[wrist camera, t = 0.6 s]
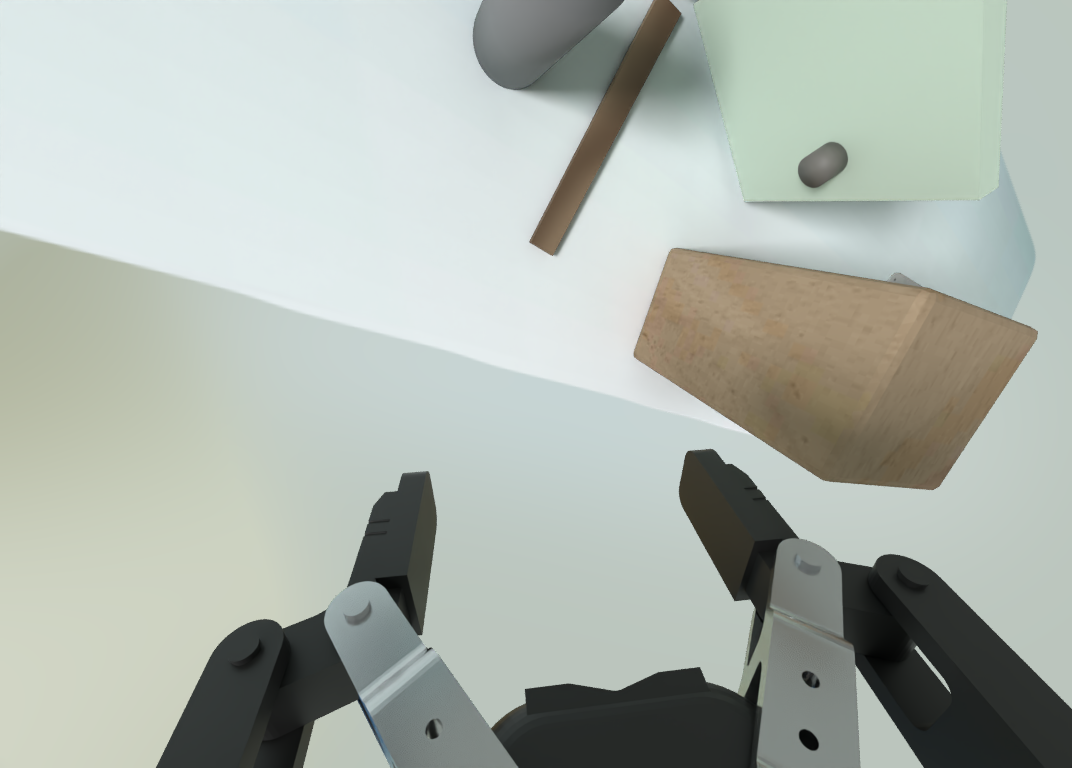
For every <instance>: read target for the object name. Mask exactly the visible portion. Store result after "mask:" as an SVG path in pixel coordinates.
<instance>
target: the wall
mask: <svg viewBox="0 0 1072 768" xmlns="http://www.w3.org/2000/svg"><path fill="white" fill-rule="evenodd" d="M680 15H681V12H680V11H679V10H678V9H677V8H676V7H675V6H674V5H673V4H672V3H671V2H670V1H669V0H654V1H653V2H652V4H651V6H650V8H649V10H648V12H647V14H646V16H645V18H644V20H643V22H642V24H641V26H640V28H639V30H638V32H637V34H636V35H635V37H634V39H633V41H632V43H631V45H630V47H629V49H628V51H627V53H626V55H625V57H624V59H623V61H622V63H621V65H620V67H619V69H618V70H617V72H616V74H615V76H614V78H613V80H612V82H611V84H610V86H609V88H608V90H607V92H606V94H605V96H604V98H603V100H602V102H601V103H600V105H599V107H598V109H597V111H596V113H595V115H594V117H593V119H592V121H591V123H590V125H589V127H588V129H587V131H586V133H585V135H584V137H583V138H582V140H581V142H580V144H579V146H578V148H577V150H576V152H575V154H574V156H573V158H572V160H571V162H570V164H569V166H568V168H567V170H566V171H565V173H564V175H563V177H562V179H561V181H560V183H559V185H558V187H557V189H556V191H555V193H554V195H553V197H552V199H551V201H550V203H549V205H548V206H547V208H546V210H545V212H544V214H543V216H542V218H541V220H540V222H539V224H538V226H537V228H536V230H535V232H534V234H533V236H532V238H531V239H530V241H529V242H530V243H532V244H533V245H535V246H537V247H538V248H540V249H541V250H543V251H545V252H546V253H548V254H550V255H552V256H553V254H554V252H555V250H556V248H557V247H558V245H559V243H560V241H561V239H562V237H563V235H564V233H565V231H566V230H567V228H568V226H569V224H570V222H571V220H572V218H573V216H574V215H575V213H576V211H577V209H578V207H579V205H580V203H581V201H582V199H583V198H584V196H585V194H586V192H587V190H588V188H589V186H590V184H591V183H592V181H593V179H594V177H595V175H596V173H597V171H598V169H599V168H600V166H601V164H602V162H603V160H604V158H605V156H606V154H607V152H608V151H609V149H610V147H611V145H612V143H613V141H614V139H615V137H616V136H617V134H618V132H619V130H620V128H621V126H622V124H623V122H624V120H625V119H626V117H627V115H628V113H629V111H630V109H631V107H632V105H633V104H634V102H635V100H636V98H637V96H638V94H639V92H640V90H641V88H642V87H643V85H644V83H645V81H646V79H647V77H648V75H649V73H650V72H651V70H652V68H653V66H654V64H655V62H656V60H657V58H658V56H659V55H660V53H661V51H662V49H663V47H664V45H665V43H666V41H667V40H668V38H669V36H670V34H671V32H672V30H673V28H674V26H675V24H676V23H677V21H678V19H679V17H680Z"/></svg>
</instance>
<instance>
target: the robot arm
mask: <svg viewBox="0 0 1072 768" xmlns="http://www.w3.org/2000/svg"><path fill="white" fill-rule="evenodd" d="M679 497H680V501H681V505H682V507H683V509H684V511H685V512H686V514H687V516H688V518H689V520H690V521H691V523H692V525H693V527H694V529H695V530H696V532H697V534H698V536H699V538H700V539H701V541H702V543H703V545H704V547H705V549H706V550H707V552H708V554H709V556H710V557H711V559H712V561H713V563H714V565H715V567H716V568H717V570H718V572H719V573H720V576H721V577H722V579H723V581H724V583H725V584H726V586H727V588H728V590H729V592H730V594H731V595H732V597H733V599H734V601H741V600H749V599H750V600H751V601H752V603H753V605H754V607H755V609H754V611H753V615H752V621H751V627H750V633H749V639H748V645H747V651H746V657H745V663H744V669H743V675H742V679H741V683H740V687H739V690H738V694H737V693H735V692H733V691H731V690H729V689H726V688H724V687H722V686H719V685H715V684H712V683H708V682H706V681H705V678H704V676H703V673H702V671H701V669H700V667H697V668H689V669H681V670H674V671H665V672H658V673H656V674H654V675H652V676H649V677H647V678H645V679H643V680H641V681H639V682H636V683H634V684H632V685H630V686H628V687H626V688H624V689H622V690H618V691H611V690H605V689H599V688H593V687H587V686H581V685H575V684H561V685H553V686H545V687H538V688H530V689H525V696H526V704H523V705H521V706H519V707H518V708H515V709H514V710H512V711H511V712H509V713H508V714H506V715H505V716H504V717H503V718H501V719H500V720H499V721H498V722H497V723H496V724H495V725H494V726H493V727H492V728H490V727H489V725H488V724H487V723H486V721H485V720H484V718H483V717H482V715H481V714H480V713H479V711H478V710H477V708H476V707H475V706H474V704H473V703H472V701H471V700H470V698H469V697H468V696H467V694H466V693H465V692H464V690H463V689H462V687H461V686H460V684H459V683H458V681H457V680H456V679H455V678H454V676H453V674H452V673H451V672H450V670H449V669H448V667H447V666H446V664H445V663H444V662H443V660H442V659H441V657H440V656H439V655H438V654H437V653H436V651H435V650H434V649H433V648H429V649H428V648H427V647H426V646H425V645H424V644H423V643H422V641H421V639H420V638H419V637H418V635H422V632H423V625H424V618H425V610H426V603H427V595H428V588H429V580H430V573H431V565H432V558H433V550H434V543H435V535H436V526H437V515H436V506H435V501H434V495H433V489H432V484H431V479H430V474H429V472H428V471H426V472H414V473H403V474H402V477H401V480H400V484H399V488H398V491H395V492H385V493H384V494H383V495H382V496H381V498H380V499H379V500H378V501H377V502H376V503H375V505H374V506H373V509H372V512H371V515H370V518H369V524H368V525H367V528H366V531H365V536H364V537H363V540H362V543H361V546H360V549H359V552H358V556H357V559H356V562H355V565H354V568H353V571H352V574H351V577H350V581H349V584H348V586H347V588H346V589H344V590H343V591H341V592H340V593H339V594H338V595H337V596H336V597H335V598H334V599H333V600H332V601H331V603H330V605H329V606H328V608H327V609H326V610H325V611H323V612H322V613H320V614H318V615H316V616H314V617H311V618H309V619H306V620H304V621H301V622H299V623H296V624H293V625H291V626H288V627H286V628H283V629H282V627H281V626H280V625H279V624H278V623H277V622H275V621H273V620H267V619H263V620H256V621H253V622H250V623H247V624H245V625H243V626H241V627H239V628H238V629H236V630H235V631H234V632H232V633H231V634H229V635H228V636H227V637H226V638H225V639H224V640H223V641H222V642H221V643H220V644H219V645H218V646H217V648H216V649H215V650H214V652H213V653H212V655H211V657H210V659H209V661H208V663H207V665H206V667H205V669H204V671H203V673H202V675H201V677H200V679H199V681H198V683H197V685H196V687H195V689H194V691H193V693H192V696H191V697H190V700H189V701H188V704H187V706H186V708H185V710H184V712H183V714H182V716H181V718H180V720H179V722H178V724H177V726H176V728H175V730H174V732H173V734H172V736H171V738H170V740H169V742H168V744H167V747H166V748H165V750H164V752H163V755H162V757H161V759H160V761H159V763H158V765H157V767H156V768H303V765H304V761H305V757H306V753H307V749H308V745H309V741H310V737H311V733H312V729H313V725H314V721H315V720H316V719H318V718H320V717H322V716H325V715H327V714H329V713H331V712H333V711H335V710H337V709H339V708H341V707H343V706H345V705H347V704H350V703H351V702H354V701H356V700H357V701H358V703H359V705H360V707H361V709H362V711H363V713H364V715H365V717H366V719H367V721H368V723H369V725H370V727H371V729H372V731H373V733H374V735H375V737H376V739H377V741H378V743H379V745H380V747H381V749H382V751H383V753H384V755H385V757H386V759H387V761H388V763H389V765H390V768H860V751H859V730H858V711H857V691H856V673H855V672H856V671H855V665H856V666H857V668H858V669H859V671H860V672H861V674H862V675H863V677H864V678H865V680H866V681H867V683H868V684H869V686H870V687H871V689H872V690H873V692H874V693H875V695H876V696H877V698H878V699H879V701H880V702H881V704H882V705H883V707H884V708H885V710H886V711H887V713H888V714H889V716H890V717H891V719H892V720H893V722H894V723H895V725H896V726H897V728H898V729H899V731H900V732H901V734H902V735H903V737H904V738H905V739H906V741H907V743H908V744H909V746H910V747H911V749H912V750H913V752H914V753H915V755H916V756H917V758H918V759H919V761H920V762H921V764H922V765H923V767H924V768H1072V709H1071V708H1070V707H1069V706H1068V705H1067V704H1066V703H1065V702H1064V701H1063V700H1062V699H1061V698H1060V697H1059V696H1058V695H1057V694H1056V693H1055V692H1054V691H1053V690H1052V689H1051V688H1050V687H1049V686H1048V685H1047V684H1046V683H1045V682H1044V681H1043V680H1042V679H1041V678H1040V677H1039V676H1038V675H1037V674H1036V673H1035V672H1034V671H1033V670H1032V669H1031V668H1030V667H1029V666H1028V665H1027V664H1026V663H1025V662H1024V661H1023V660H1022V659H1021V658H1020V657H1019V656H1018V655H1017V654H1016V653H1015V652H1014V651H1013V650H1012V649H1011V648H1010V647H1009V646H1008V645H1007V644H1006V643H1005V642H1004V641H1003V640H1002V639H1001V638H1000V637H999V636H998V635H997V634H996V633H995V632H994V631H993V630H992V629H991V628H990V627H989V626H988V625H987V624H986V623H985V622H984V621H983V620H982V619H981V618H980V617H979V616H978V615H977V614H976V613H975V612H974V611H973V610H972V609H971V608H970V607H969V606H968V605H967V604H966V603H965V602H964V601H963V600H962V599H961V598H960V597H959V596H958V595H957V594H956V593H955V592H954V591H953V590H952V589H951V588H950V587H949V586H948V585H947V584H946V583H945V582H944V581H943V580H942V579H941V578H940V577H939V576H938V575H937V574H936V573H935V572H933V571H932V570H931V569H929V568H928V567H926V566H925V565H923V564H921V563H919V562H917V561H915V560H913V559H910V558H907V557H904V556H900V555H894V554H888V555H883V556H881V557H879V558H878V559H877V561H876V563H875V564H874V566H873V567H868V566H862V565H856V564H850V563H844V562H839V561H837V560H836V559H835V558H834V557H833V556H832V555H831V554H830V553H829V552H828V551H826V550H825V549H824V548H822V547H821V546H819V545H817V544H815V543H812V542H810V541H807V540H803V539H799V538H798V537H797V535H796V534H795V533H794V532H793V530H792V529H791V528H790V527H789V526H788V524H787V523H786V522H785V521H784V519H783V518H782V517H781V516H780V514H779V513H778V512H777V511H776V510H775V508H774V507H773V506H772V505H771V503H770V502H769V501H768V500H766V497H765V496H764V495H763V494H762V492H761V491H760V490H758V489H757V486H756V485H755V484H754V482H753V481H752V480H751V479H750V478H749V476H748V475H747V474H745V473H744V472H743V471H741V470H740V469H738V468H737V467H735V466H734V465H733V464H725V463H724V462H723V460H722V459H721V458H720V456H719V455H718V454H717V452H716V451H714V450H713V449H706V450H695V451H688V452H687V453H686V455H685V460H684V466H683V470H682V476H681V481H680V486H679ZM916 646H918V647H919V649H920V650H921V651H922V652H923V654H924V655H925V656H926V657H927V658H928V660H929V661H930V662H931V663H932V665H933V666H934V667H935V668H936V669H937V671H938V672H939V673H940V674H941V676H942V677H943V678H944V680H945V681H946V683H947V685H948V687H949V689H950V692H951V694H950V692H949V691H948V690H947V689H946V687H945V686H944V685H943V684H942V683H941V681H940V680H939V679H938V677H937V676H936V675H935V674H934V672H933V671H932V670H931V669H930V668H929V666H928V665H927V664H926V662H925V661H924V660H923V659H922V657H920V655H919V654H918V653H917V651H916V650H915V649H914V648H915V647H916Z"/></svg>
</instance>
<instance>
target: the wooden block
mask: <svg viewBox="0 0 1072 768" xmlns="http://www.w3.org/2000/svg"><path fill="white" fill-rule="evenodd" d="M1037 334H1038V331H1036V330H1035V329H1033V328H1031V327H1030V326H1027V325H1024V324H1022V323H1019V322H1016V321H1014V320H1011V319H1009V318H1006V317H1003V316H1001V315H998V314H995V313H993V312H990V311H988V310H985V309H982V308H980V307H977V306H974V305H972V304H969V303H967V302H964V301H961V300H959V299H956V298H953V297H951V296H948V295H946V294H943V293H940V292H938V291H935V290H932V289H930V288H925V287H918V286H912V285H906V284H900V283H893V282H887V281H881V280H875V279H868V278H862V277H856V276H849V275H843V274H837V273H831V272H824V271H818V270H812V269H805V268H799V267H793V266H787V265H780V264H774V263H768V262H762V261H755V260H749V259H743V258H736V257H730V256H724V255H718V254H711V253H705V252H699V251H693V250H686V249H680V248H674V249H671V251H670V252H669V254H668V257H667V260H666V263H665V265H664V268H663V271H662V274H661V277H660V280H659V282H658V285H657V288H656V291H655V294H654V297H653V299H652V302H651V305H650V308H649V311H648V314H647V316H646V319H645V322H644V325H643V328H642V331H641V333H640V336H639V339H638V342H637V345H636V348H635V350H634V357H635V358H636V359H637V360H639V361H641V362H642V363H644V364H645V365H647V366H648V367H650V368H651V369H653V370H654V371H656V372H657V373H659V374H660V375H662V376H664V377H665V378H667V379H668V380H670V381H671V382H673V383H674V384H676V385H677V386H679V387H680V388H682V389H683V390H685V391H687V392H688V393H690V394H691V395H693V396H694V397H696V398H697V399H699V400H700V401H702V402H703V403H705V404H707V405H708V406H710V407H711V408H713V409H714V410H716V411H717V412H719V413H720V414H722V415H723V416H725V417H726V418H728V419H730V420H731V421H733V422H734V423H736V424H737V425H739V426H740V427H742V428H743V429H745V430H746V431H748V432H749V433H751V434H753V435H754V436H756V437H757V438H759V439H760V440H762V441H763V442H765V443H766V444H768V445H769V446H771V447H773V448H774V449H776V450H777V451H779V452H780V453H782V454H783V455H785V456H786V457H788V458H789V459H791V460H792V461H794V462H796V463H797V464H799V465H800V466H802V467H803V468H805V469H806V470H808V471H810V472H811V473H812V474H814V475H815V476H817V477H819V478H820V479H822V480H825V481H830V482H841V483H853V484H865V485H878V486H890V487H902V488H914V489H926V490H934V489H936V488H937V487H939V486H940V485H941V483H942V481H943V480H944V479H945V477H946V475H947V474H948V472H949V471H950V469H951V468H952V466H953V464H954V463H955V462H956V460H957V459H958V457H959V456H960V454H961V452H962V451H963V450H964V448H965V446H966V445H967V444H968V442H969V441H970V439H971V438H972V436H973V435H974V433H975V431H976V430H977V429H978V427H979V426H980V424H981V423H982V421H983V420H984V418H985V417H986V415H987V413H988V412H989V410H990V409H991V407H992V406H993V404H994V403H995V401H996V400H997V398H998V397H999V395H1000V394H1001V392H1002V391H1003V389H1004V388H1005V386H1006V385H1007V383H1008V382H1009V380H1010V379H1011V377H1012V376H1013V374H1014V373H1015V371H1016V370H1017V368H1018V367H1019V365H1020V364H1021V362H1022V361H1023V359H1024V357H1025V356H1026V355H1027V353H1028V351H1029V350H1030V348H1031V347H1032V345H1033V344H1034V342H1035V341H1036V339H1037Z"/></svg>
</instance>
